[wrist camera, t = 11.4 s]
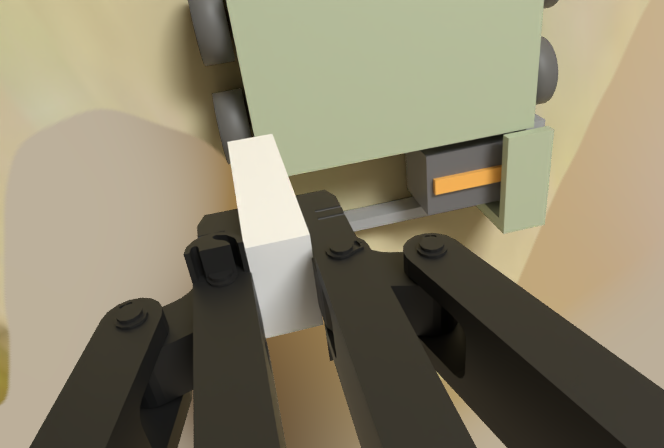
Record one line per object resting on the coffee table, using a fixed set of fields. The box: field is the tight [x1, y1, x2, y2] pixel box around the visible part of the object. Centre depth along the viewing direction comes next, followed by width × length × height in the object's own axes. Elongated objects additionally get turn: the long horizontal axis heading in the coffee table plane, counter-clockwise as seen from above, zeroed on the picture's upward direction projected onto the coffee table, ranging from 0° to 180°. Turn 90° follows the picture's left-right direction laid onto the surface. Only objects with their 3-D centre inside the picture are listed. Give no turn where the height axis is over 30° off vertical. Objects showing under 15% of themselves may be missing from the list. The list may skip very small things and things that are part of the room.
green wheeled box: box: [188, 0, 558, 234], centre depth 38 cm, size 24×20×7 cm
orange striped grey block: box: [405, 131, 519, 215], centre depth 42 cm, size 8×5×5 cm, turn 97°
